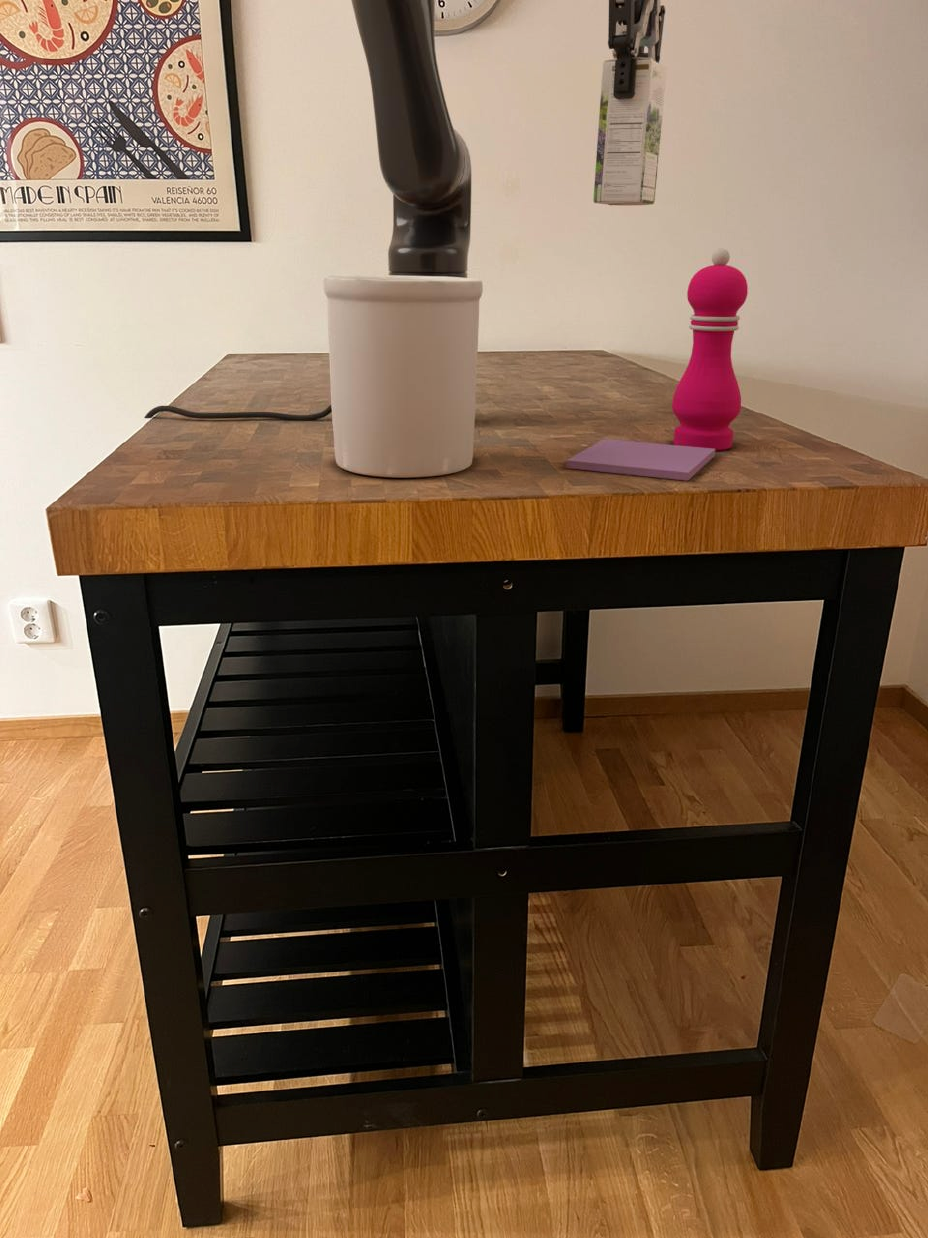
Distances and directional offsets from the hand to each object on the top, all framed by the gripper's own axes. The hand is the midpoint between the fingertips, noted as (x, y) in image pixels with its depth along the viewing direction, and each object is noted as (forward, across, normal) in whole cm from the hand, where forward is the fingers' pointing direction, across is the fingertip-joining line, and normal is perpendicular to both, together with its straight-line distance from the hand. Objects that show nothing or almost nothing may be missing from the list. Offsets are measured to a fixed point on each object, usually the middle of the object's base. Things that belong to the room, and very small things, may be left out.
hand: (631, 101), depth 104 cm
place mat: (+35, +24, +11) cm, 44 cm away
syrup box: (+11, 0, 0) cm, 11 cm away
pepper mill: (+35, +13, +14) cm, 40 cm away
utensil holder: (+36, +35, -10) cm, 51 cm away
